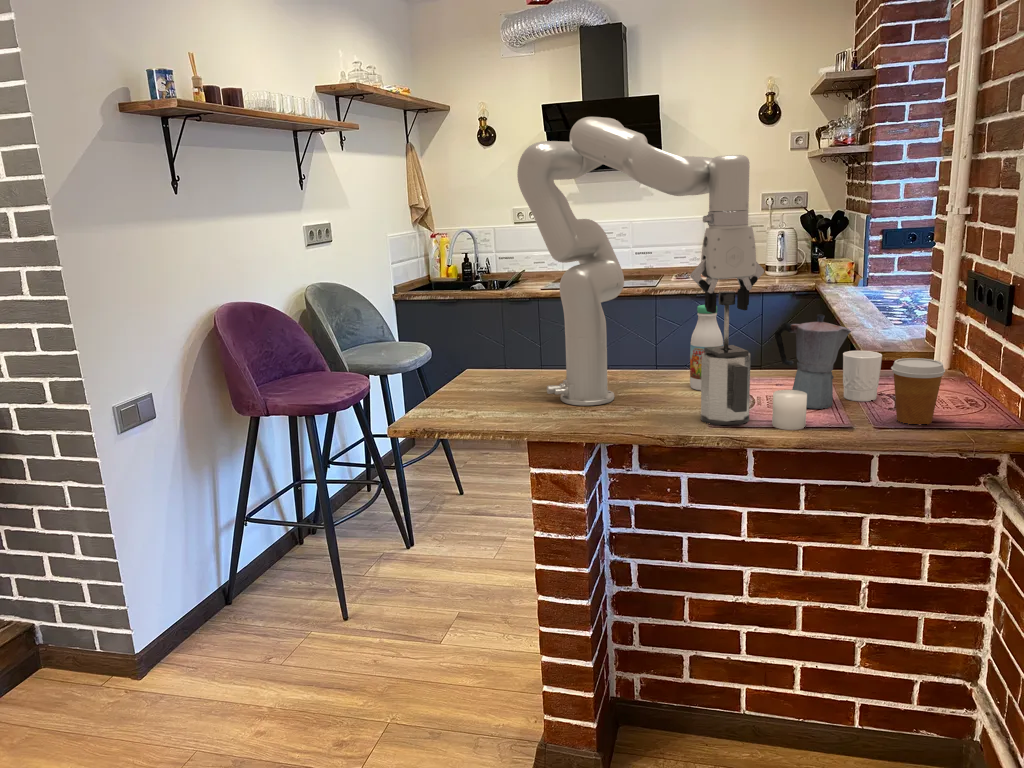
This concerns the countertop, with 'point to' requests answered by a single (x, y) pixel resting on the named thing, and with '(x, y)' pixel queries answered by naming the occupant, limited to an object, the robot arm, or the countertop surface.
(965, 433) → the countertop surface
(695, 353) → the milk bottle
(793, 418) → the white pillar candle
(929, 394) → the disposable coffee cup
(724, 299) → the plunger
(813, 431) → the countertop surface
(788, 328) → the moka pot
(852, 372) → the white cup
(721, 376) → the press carafe
